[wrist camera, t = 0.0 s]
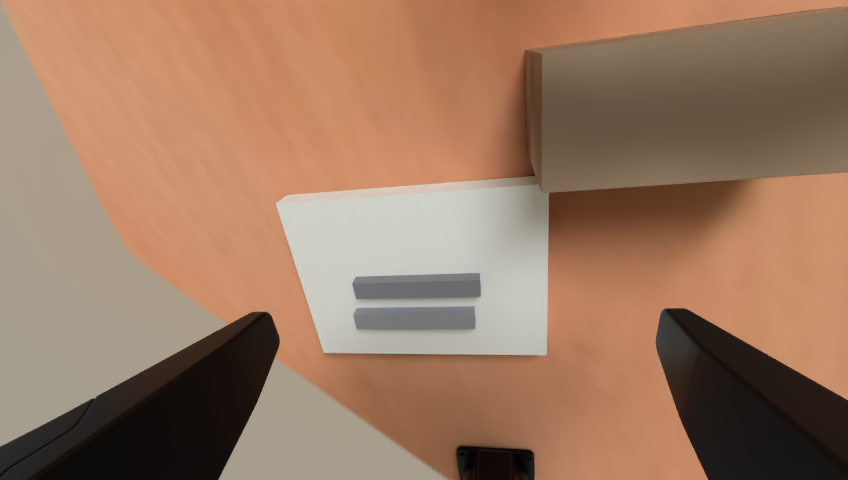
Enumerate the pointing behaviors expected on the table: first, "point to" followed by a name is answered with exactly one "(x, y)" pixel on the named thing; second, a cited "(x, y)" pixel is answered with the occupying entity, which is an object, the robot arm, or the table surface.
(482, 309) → the board
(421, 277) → the pencil mark
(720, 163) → the block
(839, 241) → the table surface
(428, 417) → the table surface
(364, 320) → the long grey stick
